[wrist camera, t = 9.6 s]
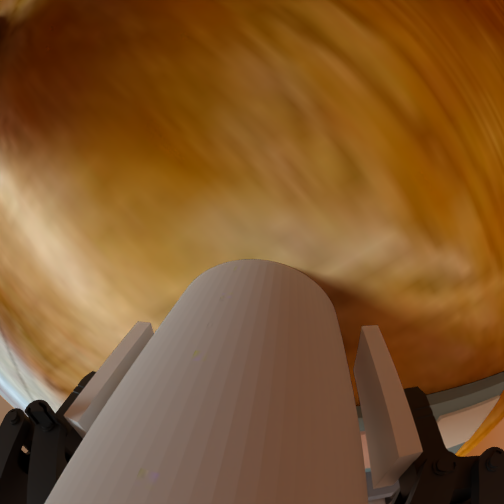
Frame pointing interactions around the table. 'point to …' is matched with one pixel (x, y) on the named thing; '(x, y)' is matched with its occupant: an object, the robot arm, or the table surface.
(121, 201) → the table surface
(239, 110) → the table surface
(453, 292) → the table surface
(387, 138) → the table surface
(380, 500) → the dome
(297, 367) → the white cylinder
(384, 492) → the board
